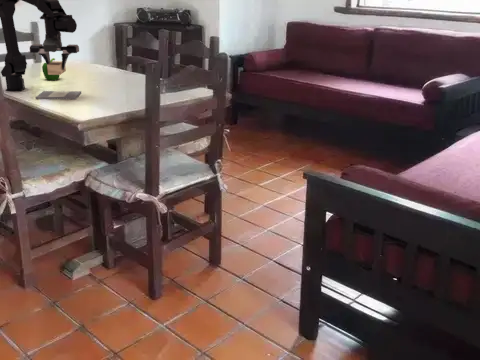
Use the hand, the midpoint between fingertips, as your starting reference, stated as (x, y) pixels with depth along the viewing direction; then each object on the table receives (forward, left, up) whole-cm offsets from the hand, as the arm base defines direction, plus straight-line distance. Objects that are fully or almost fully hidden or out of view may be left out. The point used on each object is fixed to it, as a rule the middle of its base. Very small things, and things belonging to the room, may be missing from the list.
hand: (56, 69), depth 227 cm
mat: (0, 0, -11) cm, 11 cm away
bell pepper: (-12, +36, -11) cm, 39 cm away
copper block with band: (0, 0, -1) cm, 1 cm away
